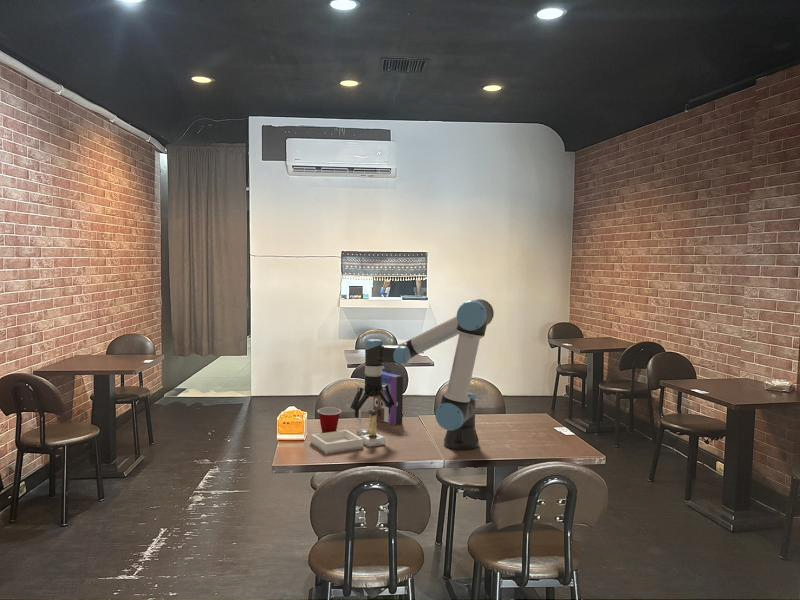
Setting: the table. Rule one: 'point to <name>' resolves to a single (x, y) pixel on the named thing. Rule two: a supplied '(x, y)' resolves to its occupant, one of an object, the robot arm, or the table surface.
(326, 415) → the plastic cup
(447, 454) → the table surface
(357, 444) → the tray
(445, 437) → the robot arm
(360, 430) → the bracket
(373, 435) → the lock pin
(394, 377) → the cereal box
